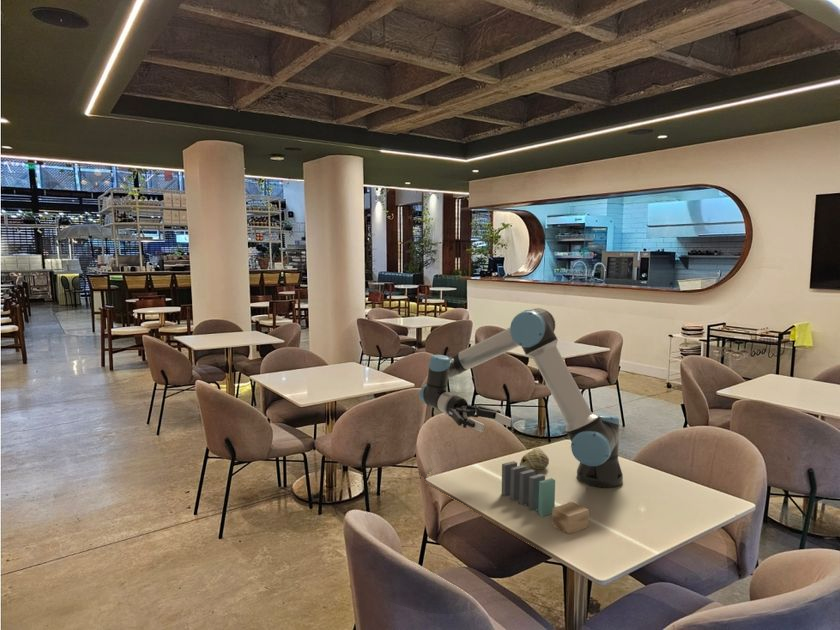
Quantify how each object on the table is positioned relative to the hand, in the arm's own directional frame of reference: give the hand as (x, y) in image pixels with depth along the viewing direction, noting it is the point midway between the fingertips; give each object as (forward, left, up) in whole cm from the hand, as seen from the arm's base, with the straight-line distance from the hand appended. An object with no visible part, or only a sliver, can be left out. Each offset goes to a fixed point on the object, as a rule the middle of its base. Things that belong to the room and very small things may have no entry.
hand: (497, 425), depth 175 cm
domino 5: (-10, +19, -21) cm, 31 cm away
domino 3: (-7, +12, -21) cm, 25 cm away
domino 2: (-5, +8, -21) cm, 23 cm away
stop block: (-14, +28, -21) cm, 38 cm away
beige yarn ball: (-18, -16, -22) cm, 32 cm away
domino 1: (-3, +4, -21) cm, 22 cm away
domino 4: (-8, +16, -21) cm, 28 cm away
